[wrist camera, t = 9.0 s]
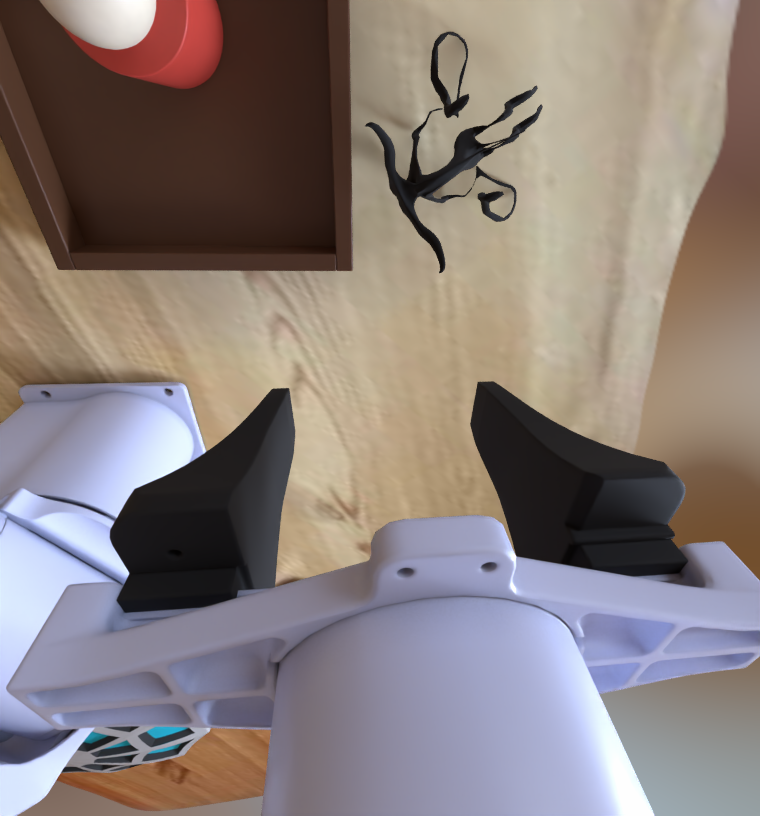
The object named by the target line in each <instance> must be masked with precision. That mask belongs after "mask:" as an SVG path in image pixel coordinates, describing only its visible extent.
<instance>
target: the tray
mask: <svg viewBox="0 0 760 816" xmlns="http://www.w3.org/2000/svg"><path fill="white" fill-rule="evenodd" d="M216 2H217V4H218V7H219V11H220V14H221V19H222V25H223V49H222V54H221V58H220V61H219V64H218V66H217V68H216V70H215V72H214V73H213V74H212V76H211V77H210V78H209V79H208V80H207V81H206V82H204V83H202V84H201V85H199V86H196V87H194V88H189V89H177V88H172V87H168V86H164V85H160V84H156V83H152V82H148V81H145V80H141V79H137V78H133V77H129V76H125V75H121V74H118V73H116V72H113V71H111V70H109V69H107V68H105V67H104V66H102V65H100V64H99V63H97V62H96V61H95V60H93V59H92V58H91V57H89V56H88V55H87V54H86V53H85V52H84V51H83V50H82V49H81V48H80V47H79V46H78V45H77V44H76V43H75V42H74V41H73V40H72V39H71V37H70V36H69V35H68V34H67V32H66V31H65V30H64V28H63V27H62V25H61V24H60V23H59V22H58V21H57V20H56V19H55V18H54V17H53V16H52V15H51V14H50V13H49V12H48V11H47V9H46V8H45V7H44V6H43V4H42V3H41V2H40V1H39V0H0V137H1V139H2V141H3V144H4V146H5V148H6V150H7V153H8V155H9V157H10V160H11V162H12V164H13V167H14V169H15V171H16V174H17V176H18V178H19V180H20V183H21V185H22V187H23V190H24V192H25V194H26V197H27V199H28V201H29V204H30V206H31V208H32V210H33V213H34V215H35V217H36V220H37V222H38V224H39V227H40V229H41V231H42V233H43V236H44V238H45V240H46V243H47V245H48V247H49V250H50V252H51V254H52V257H53V259H54V261H55V263H56V266H57V268H58V269H59V270H233V271H336V270H337V271H352V270H353V243H352V167H351V91H350V14H349V0H216Z"/></svg>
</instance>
